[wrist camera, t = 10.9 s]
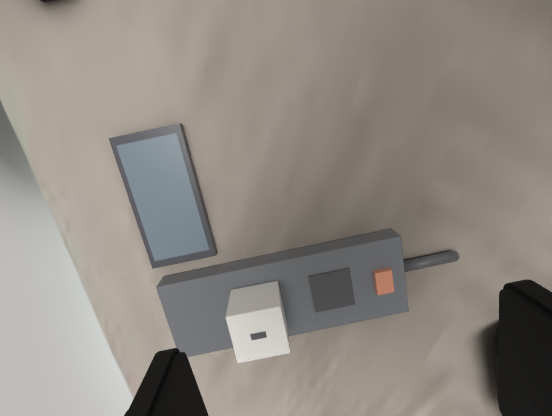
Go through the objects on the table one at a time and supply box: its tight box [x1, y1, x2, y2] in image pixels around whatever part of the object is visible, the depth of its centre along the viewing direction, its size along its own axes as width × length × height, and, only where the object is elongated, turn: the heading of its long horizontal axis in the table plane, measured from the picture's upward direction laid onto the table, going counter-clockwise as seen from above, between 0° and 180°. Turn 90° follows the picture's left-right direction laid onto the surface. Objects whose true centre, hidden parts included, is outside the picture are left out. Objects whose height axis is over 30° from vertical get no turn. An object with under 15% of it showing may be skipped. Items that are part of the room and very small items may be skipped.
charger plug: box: [225, 281, 290, 363], centre depth 30 cm, size 5×5×7 cm
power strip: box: [156, 229, 459, 357], centre depth 33 cm, size 33×9×3 cm, turn 102°
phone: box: [109, 123, 217, 268], centre depth 31 cm, size 7×14×1 cm, turn 12°
